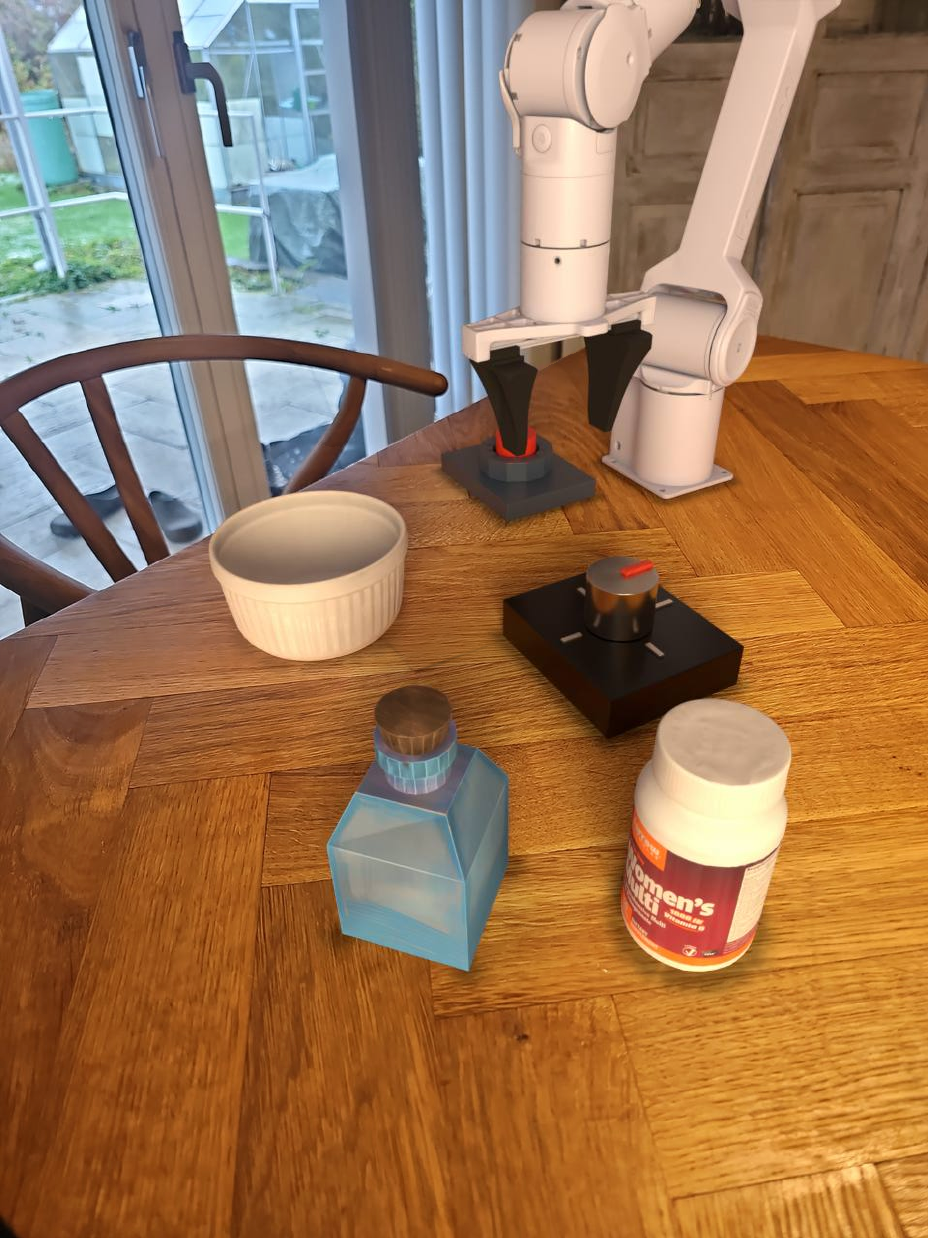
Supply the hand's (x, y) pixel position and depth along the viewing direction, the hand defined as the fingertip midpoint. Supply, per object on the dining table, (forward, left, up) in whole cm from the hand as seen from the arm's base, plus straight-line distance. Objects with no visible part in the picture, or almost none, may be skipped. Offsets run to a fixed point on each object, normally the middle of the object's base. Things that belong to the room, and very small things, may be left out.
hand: (558, 438), depth 62 cm
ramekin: (-1, -19, -10) cm, 22 cm away
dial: (+14, -4, -6) cm, 16 cm away
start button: (-12, +4, -6) cm, 14 cm away
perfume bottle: (+24, -23, -10) cm, 35 cm away
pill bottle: (+31, -13, -10) cm, 35 cm away
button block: (-12, +4, -9) cm, 15 cm away
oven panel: (+14, -4, -9) cm, 17 cm away
